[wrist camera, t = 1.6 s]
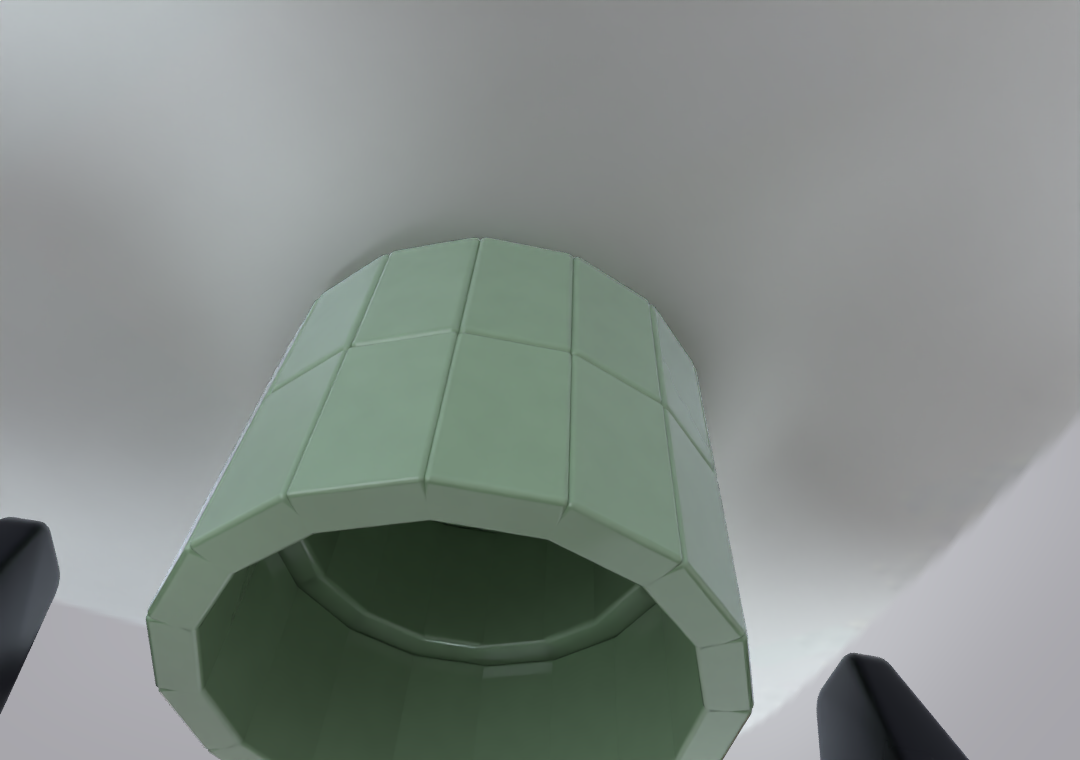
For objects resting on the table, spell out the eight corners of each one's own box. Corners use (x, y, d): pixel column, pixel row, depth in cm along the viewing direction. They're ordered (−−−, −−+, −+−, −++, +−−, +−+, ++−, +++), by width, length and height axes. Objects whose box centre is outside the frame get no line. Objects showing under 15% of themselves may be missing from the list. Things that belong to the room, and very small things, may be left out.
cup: (636, 563, 14) (656, 869, 10) (292, 506, 14) (171, 803, 10) (753, 265, 11) (855, 551, 7) (298, 175, 10) (112, 425, 6)
